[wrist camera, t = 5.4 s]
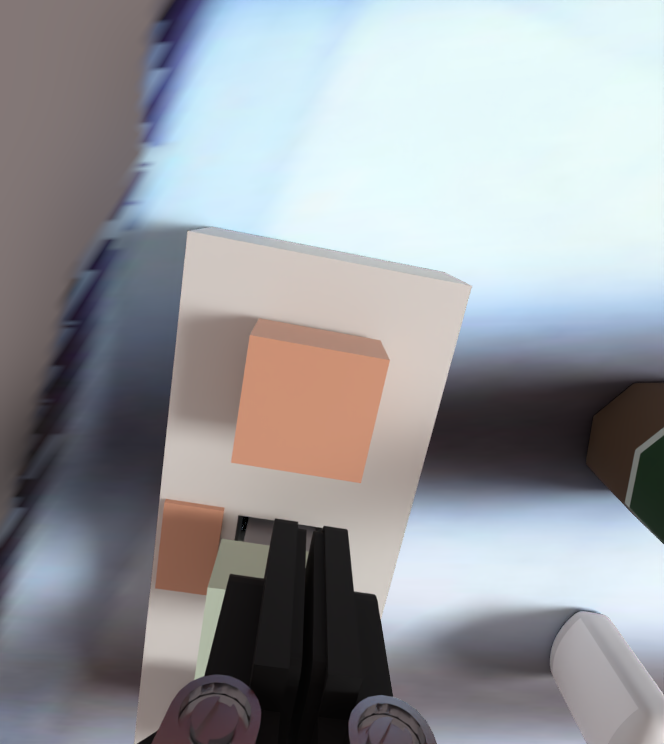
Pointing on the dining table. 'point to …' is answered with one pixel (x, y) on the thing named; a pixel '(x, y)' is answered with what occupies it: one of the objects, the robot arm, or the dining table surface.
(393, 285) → the console
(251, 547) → the sage button
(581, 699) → the eye dropper bottle
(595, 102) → the dining table surface
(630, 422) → the beer bottle
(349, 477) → the terracotta button
